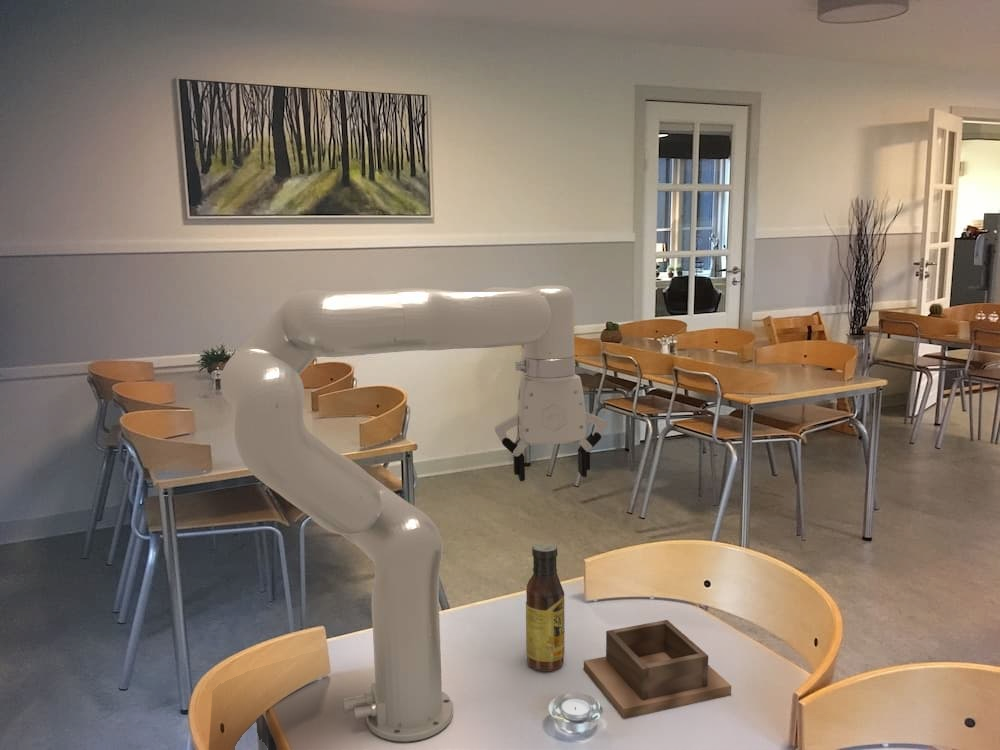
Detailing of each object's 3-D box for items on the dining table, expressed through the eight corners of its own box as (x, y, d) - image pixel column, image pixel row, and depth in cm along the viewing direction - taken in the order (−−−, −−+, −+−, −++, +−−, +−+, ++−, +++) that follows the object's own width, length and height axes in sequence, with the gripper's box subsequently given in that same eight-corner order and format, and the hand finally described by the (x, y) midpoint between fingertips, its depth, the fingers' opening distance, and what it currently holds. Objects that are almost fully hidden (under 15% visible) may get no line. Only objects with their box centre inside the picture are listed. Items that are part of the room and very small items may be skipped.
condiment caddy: (623, 718, 112) (624, 677, 111) (583, 669, 125) (583, 631, 124) (730, 694, 117) (732, 654, 116) (681, 649, 131) (682, 613, 129)
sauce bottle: (562, 675, 123) (561, 556, 120) (523, 671, 125) (521, 554, 121) (566, 654, 130) (566, 541, 127) (529, 650, 131) (528, 538, 128)
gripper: (495, 375, 113) (499, 488, 116) (612, 369, 115) (612, 480, 118) (490, 366, 120) (494, 473, 123) (599, 361, 122) (600, 466, 125)
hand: (552, 476), depth 120 cm, fingers open, 9 cm apart
